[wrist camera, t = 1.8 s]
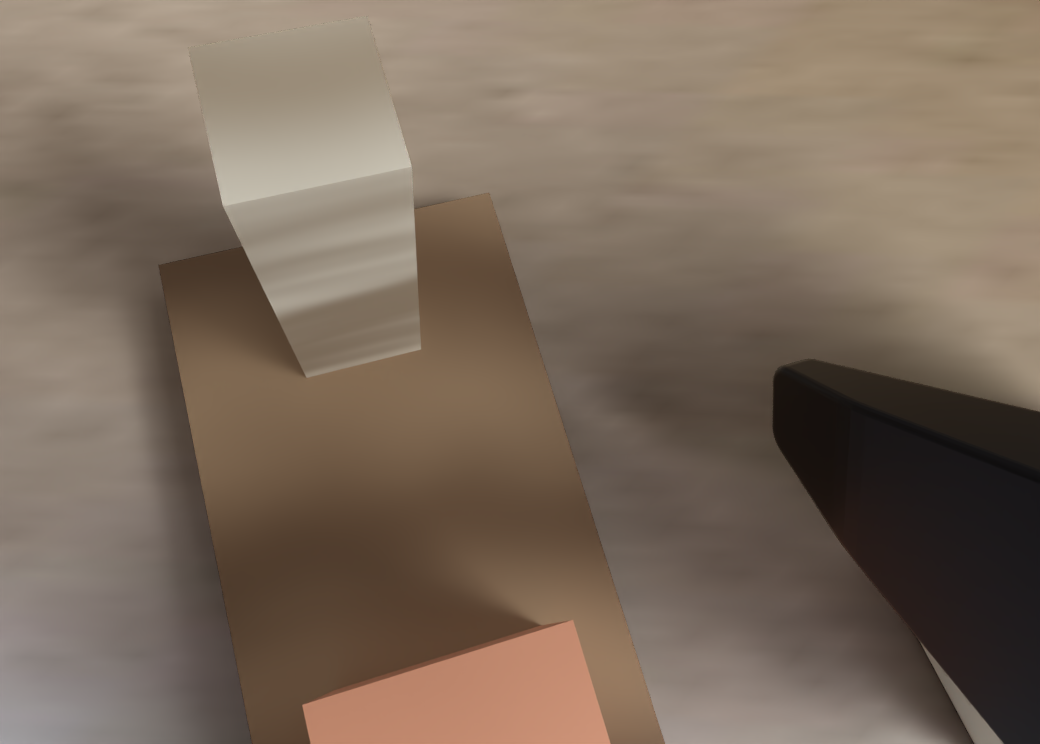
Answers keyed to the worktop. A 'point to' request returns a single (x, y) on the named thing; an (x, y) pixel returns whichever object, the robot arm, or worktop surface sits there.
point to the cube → (472, 697)
